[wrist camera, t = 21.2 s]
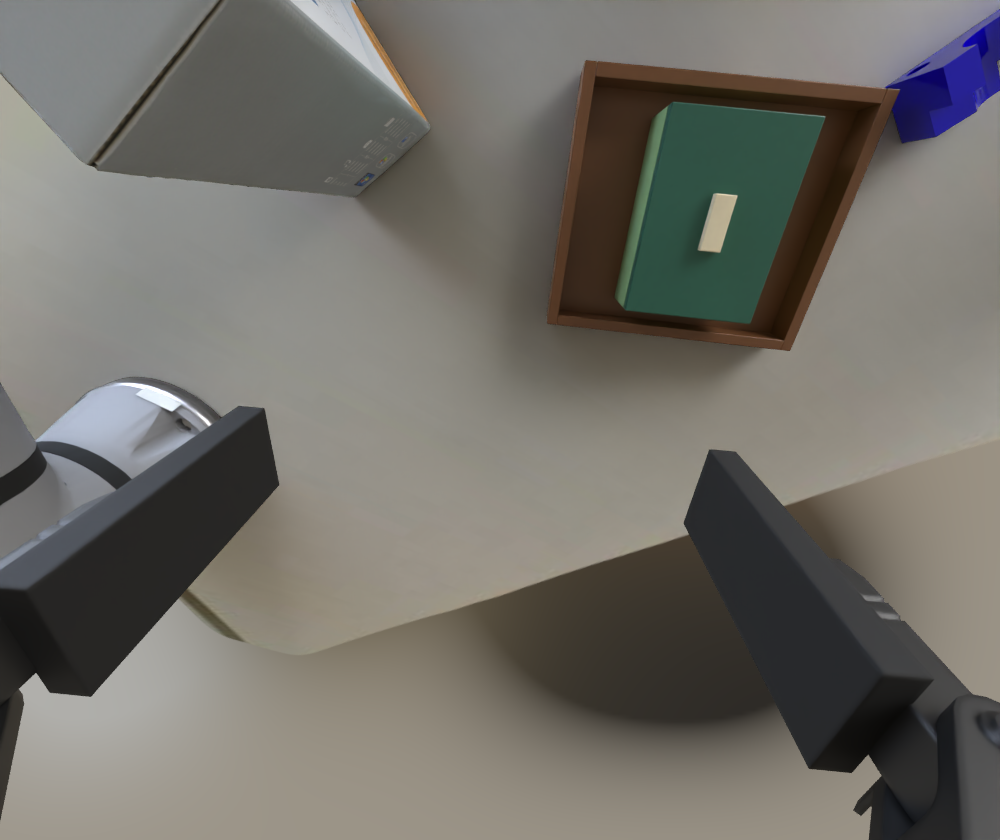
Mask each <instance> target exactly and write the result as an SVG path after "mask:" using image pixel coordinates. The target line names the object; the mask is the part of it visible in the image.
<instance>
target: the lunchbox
mask: <svg viewBox="0 0 1000 840" xmlns="http://www.w3.org/2000/svg"><path fill="white" fill-rule="evenodd" d="M824 120H825V116H818V115H807V114H797V113H786V112H776V111H765V110H755V109H744V108H734V107H723V106H713V105H702V104H692V103H681V102H672V103H671V104H670V105H668V106H667V107H666V108H665V109H663V110H662V111H661V112H660V113H658V114H657V115H656V116H655V117H653V118H652V121H651V126H650V131H649V135H648V140H647V145H646V149H645V154H644V159H643V164H642V168H641V173H640V178H639V183H638V187H637V192H636V197H635V201H634V206H633V211H632V216H631V220H630V225H629V230H628V235H627V239H626V244H625V249H624V254H623V258H622V263H621V268H620V272H619V277H618V282H617V287H616V291H615V296H614V298H615V299H616V300H617V301H618V302H619V303H620V304H621V306H622V307H623V308H624V309H625V310H626V311H634V312H643V313H653V314H662V315H671V316H680V317H689V318H698V319H707V320H716V321H725V322H734V323H743V324H750V322H751V320H752V317H753V314H754V311H755V309H756V306H757V303H758V300H759V298H760V295H761V292H762V289H763V287H764V284H765V281H766V279H767V276H768V273H769V270H770V268H771V265H772V262H773V259H774V257H775V254H776V251H777V248H778V246H779V243H780V240H781V237H782V235H783V232H784V229H785V227H786V224H787V221H788V218H789V216H790V213H791V210H792V207H793V205H794V202H795V199H796V196H797V194H798V191H799V188H800V185H801V183H802V180H803V177H804V175H805V172H806V169H807V166H808V164H809V161H810V158H811V155H812V153H813V150H814V147H815V144H816V142H817V139H818V136H819V133H820V131H821V128H822V125H823V123H824Z"/></svg>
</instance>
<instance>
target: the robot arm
mask: <svg viewBox="0 0 1000 840" xmlns="http://www.w3.org/2000/svg"><path fill="white" fill-rule="evenodd" d="M278 486H279V481H278V476H277V471H276V466H275V461H274V455H273V450H272V445H271V440H270V435H269V430H268V425H267V419H266V414H265V409H264V408H255V407H244V406H238V407H237V408H235V409H234V410H232V411H231V412H229V413H228V414H226V415H225V416H223V417H222V418H220V417H219V416H218V415H217V414H216V413H215V412H214V411H213V410H212V409H211V408H210V407H209V406H207V405H206V404H205V403H204V402H202V401H201V400H199V399H198V398H197V397H195V396H194V395H192V394H190V393H188V392H187V391H185V390H183V389H181V388H179V387H177V386H174V385H172V384H169V383H166V382H163V381H159V380H155V379H150V378H142V377H129V378H122V379H118V380H115V381H113V382H110V383H108V384H105V385H103V386H100V387H98V388H95V389H93V390H91V391H89V392H87V393H86V394H85V395H83V396H82V397H81V398H80V399H79V400H78V401H77V402H76V404H75V405H74V406H73V407H72V408H71V409H70V410H69V411H67V412H66V413H65V414H64V415H63V416H62V417H61V418H59V419H58V420H57V421H56V422H55V423H54V424H53V425H52V426H51V427H50V428H49V429H47V430H46V431H45V432H44V433H43V434H42V435H41V436H40V437H39V438H38V439H37V440H34V439H33V437H32V435H31V434H30V432H29V431H28V429H27V427H26V425H25V424H24V422H23V420H22V419H21V417H20V415H19V413H18V412H17V410H16V408H15V407H14V405H13V403H12V402H11V400H10V398H9V396H8V395H7V393H6V391H5V390H4V388H3V386H2V384H1V383H0V819H1V814H2V809H3V804H4V800H5V795H6V790H7V785H8V780H9V775H10V770H11V765H12V760H13V755H14V750H15V745H16V741H17V736H18V731H19V726H20V721H21V716H22V711H23V706H24V701H23V695H22V693H21V692H20V690H19V688H20V687H21V686H22V685H23V684H24V683H25V682H26V681H28V679H29V678H31V677H32V675H34V674H35V673H37V674H38V676H39V677H40V679H41V680H42V682H43V683H44V685H45V686H46V688H47V689H48V691H49V692H50V693H60V694H69V695H79V696H89V697H91V696H92V695H93V694H94V693H95V692H96V690H97V689H98V688H99V687H100V686H101V684H103V682H104V681H105V680H106V679H107V678H108V677H109V676H110V675H111V674H112V672H113V671H114V670H115V669H116V668H117V667H118V666H119V665H120V663H121V662H122V661H123V660H124V659H125V658H126V657H127V655H128V654H129V653H130V652H131V651H132V650H133V649H134V647H135V646H136V645H137V644H138V643H139V642H140V641H141V640H142V639H143V638H144V636H145V635H146V634H147V633H148V632H149V631H150V630H151V629H152V627H153V626H154V625H155V624H156V623H157V622H158V621H159V620H160V618H161V617H162V616H163V615H164V614H165V613H166V612H167V611H168V609H169V608H170V607H171V606H172V605H173V604H174V603H175V602H176V600H177V599H178V598H179V597H180V596H181V595H182V594H183V593H184V591H185V590H186V589H187V588H188V587H189V586H190V585H191V584H192V582H193V581H194V580H195V579H196V578H197V577H198V576H199V575H200V573H201V572H202V571H203V570H204V569H205V568H206V567H207V566H208V564H209V563H210V562H211V561H212V560H213V559H214V558H215V557H216V556H217V554H218V553H219V552H220V551H221V550H222V549H223V548H224V547H225V545H226V544H227V543H228V542H229V541H230V540H231V539H232V538H233V536H234V535H235V534H236V533H237V532H238V531H239V530H240V529H241V527H242V526H243V525H244V524H245V523H246V522H247V521H248V520H249V518H250V517H251V516H252V515H253V514H254V513H255V512H256V511H257V509H258V508H259V507H260V506H261V505H262V504H263V503H264V502H265V500H266V499H267V498H268V497H269V496H270V495H271V494H272V493H273V491H274V490H275V489H276V488H277V487H278ZM684 525H685V527H686V529H687V531H688V533H689V535H690V537H691V539H692V541H693V542H694V544H695V546H696V548H697V550H698V552H699V554H700V556H701V558H702V560H703V562H704V564H705V566H706V568H707V570H708V572H709V574H710V576H711V578H712V580H713V582H714V583H715V586H716V588H717V590H718V591H719V593H720V595H721V597H722V599H723V601H724V603H725V605H726V607H727V609H728V611H729V613H730V615H731V617H732V619H733V621H734V623H735V625H736V627H737V629H738V631H739V632H740V635H741V637H742V638H743V640H744V642H745V644H746V646H747V648H748V650H749V652H750V654H751V656H752V658H753V660H754V662H755V664H756V666H757V668H758V670H759V672H760V674H761V676H762V678H763V680H764V682H765V684H766V686H767V688H768V689H769V691H770V693H771V695H772V697H773V699H774V701H775V703H776V705H777V707H778V709H779V711H780V713H781V715H782V717H783V719H784V720H785V723H786V725H787V727H788V729H789V731H790V732H791V735H792V737H793V738H794V740H795V742H796V744H797V746H798V748H799V750H800V752H801V754H802V756H803V758H804V760H805V762H806V764H807V766H808V768H809V769H817V770H827V771H837V772H848V773H852V772H853V771H854V770H855V769H856V767H857V766H858V765H859V764H860V763H861V762H862V761H863V759H864V758H865V757H866V756H867V755H869V756H870V758H871V759H872V761H873V763H874V764H875V766H876V767H877V769H878V770H879V772H880V774H881V775H882V776H881V777H880V778H879V780H877V782H875V783H874V785H873V786H872V787H871V788H870V789H869V790H868V791H867V792H866V793H865V794H864V795H863V796H862V797H861V798H860V799H859V800H858V802H857V804H856V806H855V808H854V811H855V812H856V813H858V814H859V815H862V814H863V813H864V812H865V811H866V810H867V809H868V808H869V807H870V806H872V813H871V822H870V833H869V840H1000V703H999V702H996V701H994V700H992V699H989V698H987V697H983V696H978V695H973V694H972V693H971V692H970V691H969V690H968V689H967V688H966V687H965V686H964V685H963V684H962V683H961V681H960V680H959V679H958V678H957V677H956V676H955V675H954V674H953V673H952V672H951V671H950V670H949V669H948V667H947V666H946V665H945V664H944V663H943V662H942V661H941V660H940V659H939V658H938V657H937V656H936V655H935V653H934V652H933V651H932V650H931V649H930V648H929V647H928V646H927V645H926V644H925V643H924V642H923V641H922V639H921V638H920V637H919V636H918V635H917V634H916V633H915V632H914V631H913V630H912V629H911V627H910V626H909V625H908V624H907V623H906V622H905V621H901V620H900V616H899V615H898V613H897V612H896V611H895V610H894V609H893V608H892V607H891V606H890V605H889V604H888V603H885V602H884V598H883V597H881V595H880V594H879V593H878V592H877V591H876V590H875V589H874V588H873V587H872V585H871V584H870V583H869V582H868V581H867V580H866V579H865V578H864V577H863V576H861V575H860V574H858V573H857V572H856V571H854V570H853V569H852V568H850V567H849V566H848V565H846V564H845V563H843V562H842V561H841V560H839V559H832V558H828V557H827V555H826V554H825V553H824V552H823V551H822V550H821V549H820V547H819V546H818V545H817V544H816V543H815V542H814V541H813V540H812V538H811V537H810V536H809V535H808V534H807V533H806V532H805V530H804V529H803V528H802V527H801V526H800V525H799V523H798V522H797V521H796V520H795V519H794V518H793V517H792V516H791V514H790V513H789V512H788V511H787V510H786V509H785V508H784V506H783V505H782V504H781V503H780V502H779V501H778V500H777V498H776V497H775V496H774V495H773V494H772V493H771V492H770V490H769V489H768V488H767V487H766V486H765V485H764V484H763V482H762V481H761V480H760V479H759V478H758V477H757V476H756V474H755V473H754V472H753V471H752V470H751V469H750V468H749V466H748V465H747V464H746V463H745V462H744V461H743V460H742V458H741V457H740V456H739V455H738V454H737V453H736V452H732V451H721V450H710V449H709V452H708V455H707V458H706V461H705V464H704V466H703V469H702V472H701V475H700V478H699V481H698V483H697V486H696V489H695V492H694V495H693V498H692V501H691V503H690V506H689V509H688V512H687V515H686V518H685V520H684Z"/></svg>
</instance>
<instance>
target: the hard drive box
mask: <svg viewBox="0 0 1000 840" xmlns="http://www.w3.org/2000/svg"><path fill="white" fill-rule="evenodd" d="M0 74H1V75H2V76H3V77H4V78H5V80H6V81H7V82H8V83H9V84H10V85H11V86H12V87H13V88H14V89H15V90H16V92H17V93H18V94H19V95H20V96H21V97H22V98H23V99H24V100H25V101H26V102H27V104H28V105H29V106H30V107H31V108H32V109H33V110H34V111H35V112H36V113H37V114H38V115H39V116H40V118H41V119H42V120H43V121H44V122H45V123H46V124H47V125H48V126H49V127H50V128H51V129H52V130H53V131H54V133H55V134H56V135H57V136H58V137H59V138H60V139H61V140H62V141H63V142H64V143H65V144H66V146H67V147H68V148H69V149H70V150H71V151H72V152H73V153H74V155H75V156H76V157H77V158H78V159H80V160H81V161H82V162H84V163H85V164H87V165H89V166H92V167H95V168H96V169H97V170H98V171H105V172H113V173H121V174H129V175H138V176H146V177H162V178H176V179H184V180H195V181H204V182H214V183H223V184H230V185H243V186H248V187H260V188H270V189H281V190H289V191H301V192H309V193H317V194H326V195H335V196H343V197H356V196H357V195H358V194H360V193H361V192H362V191H363V190H364V189H365V188H366V187H368V186H369V185H370V184H371V183H372V182H373V181H375V180H376V179H377V178H378V177H379V176H380V175H381V174H382V173H384V172H385V171H386V170H387V169H388V168H389V167H390V166H391V165H392V164H393V163H394V162H396V161H397V160H398V159H399V158H400V157H401V156H402V155H404V154H405V153H406V152H407V151H408V150H409V149H410V148H411V147H412V146H413V145H415V144H416V143H417V142H418V141H419V140H420V139H421V138H422V137H423V136H424V135H425V134H426V133H427V132H428V131H429V130H430V125H429V123H428V121H427V120H426V118H425V116H424V114H423V113H422V111H421V109H420V108H419V106H418V104H417V103H416V101H415V99H414V98H413V96H412V95H411V93H410V91H409V90H408V88H407V87H406V85H405V83H404V82H403V80H402V78H401V77H400V75H399V74H398V72H397V70H396V69H395V67H394V65H393V64H392V62H391V60H390V59H389V57H388V55H387V54H386V52H385V50H384V49H383V47H382V46H381V44H380V42H379V41H378V39H377V37H376V36H375V34H374V32H373V31H372V29H371V27H370V26H369V24H368V22H367V21H366V19H365V18H364V16H363V14H362V13H361V11H360V9H359V8H358V6H357V5H356V3H355V1H354V0H0Z"/></svg>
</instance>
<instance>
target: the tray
mask: <svg viewBox="0 0 1000 840" xmlns="http://www.w3.org/2000/svg"><path fill="white" fill-rule="evenodd" d="M899 91H900V90H899V89H887V88H878V87H867V86H856V85H846V84H835V83H824V82H814V81H803V80H792V79H782V78H771V77H760V76H750V75H739V74H728V73H717V72H707V71H696V70H685V69H675V68H664V67H653V66H643V65H632V64H621V63H611V62H600V61H598V62H597V61H588V60H586V61H585V63H584V66H583V69H582V72H581V78H580V85H579V92H578V99H577V106H576V113H575V120H574V127H573V134H572V141H571V148H570V155H569V162H568V169H567V176H566V183H565V190H564V197H563V204H562V211H561V218H560V225H559V232H558V239H557V246H556V253H555V260H554V267H553V274H552V281H551V288H550V295H549V302H548V309H547V323H548V324H555V325H556V324H557V325H563V326H572V327H581V328H590V329H599V330H608V331H617V332H626V333H635V334H643V335H652V336H661V337H670V338H679V339H688V340H697V341H706V342H714V343H723V344H732V345H741V346H750V347H759V348H768V349H777V350H785V351H790V350H791V347H792V345H793V343H794V340H795V338H796V336H797V333H798V331H799V328H800V326H801V324H802V321H803V319H804V317H805V314H806V312H807V309H808V307H809V305H810V302H811V300H812V298H813V295H814V293H815V290H816V288H817V286H818V283H819V281H820V279H821V276H822V274H823V272H824V269H825V267H826V264H827V262H828V260H829V257H830V255H831V253H832V250H833V248H834V245H835V243H836V241H837V238H838V236H839V234H840V231H841V229H842V227H843V224H844V222H845V219H846V217H847V215H848V212H849V210H850V208H851V205H852V203H853V200H854V198H855V196H856V193H857V191H858V189H859V186H860V184H861V182H862V179H863V177H864V174H865V172H866V170H867V167H868V165H869V163H870V160H871V158H872V155H873V153H874V151H875V148H876V146H877V144H878V141H879V139H880V137H881V134H882V132H883V129H884V127H885V125H886V122H887V120H888V118H889V115H890V113H891V110H892V108H893V106H894V103H895V101H896V99H897V96H898V94H899ZM672 102H681V103H692V104H702V105H713V106H723V107H734V108H744V109H755V110H765V111H776V112H786V113H797V114H807V115H818V116H825V120H824V123H823V125H822V128H821V131H820V133H819V136H818V139H817V142H816V144H815V147H814V150H813V153H812V155H811V158H810V161H809V164H808V166H807V169H806V172H805V175H804V177H803V180H802V183H801V185H800V188H799V191H798V194H797V196H796V199H795V202H794V205H793V207H792V210H791V213H790V216H789V218H788V221H787V224H786V227H785V229H784V232H783V235H782V237H781V240H780V243H779V246H778V248H777V251H776V254H775V257H774V259H773V262H772V265H771V268H770V270H769V273H768V276H767V279H766V281H765V284H764V287H763V289H762V292H761V295H760V298H759V300H758V303H757V306H756V309H755V311H754V314H753V317H752V320H751V322H750V324H743V323H734V322H725V321H716V320H707V319H698V318H689V317H680V316H671V315H662V314H653V313H643V312H634V311H626V310H625V309H624V308H623V307H622V306H621V304H620V303H619V302H618V301H617V300H616V299H615V298H614V296H615V291H616V287H617V282H618V277H619V272H620V268H621V263H622V258H623V254H624V249H625V244H626V239H627V235H628V230H629V225H630V220H631V216H632V211H633V206H634V201H635V197H636V192H637V187H638V183H639V178H640V173H641V168H642V164H643V159H644V154H645V149H646V145H647V140H648V135H649V131H650V126H651V121H652V118H653V117H655V116H656V115H657V114H658V113H660V112H661V111H662V110H663V109H665V108H666V107H667V106H668V105H670V104H671V103H672Z"/></svg>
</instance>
